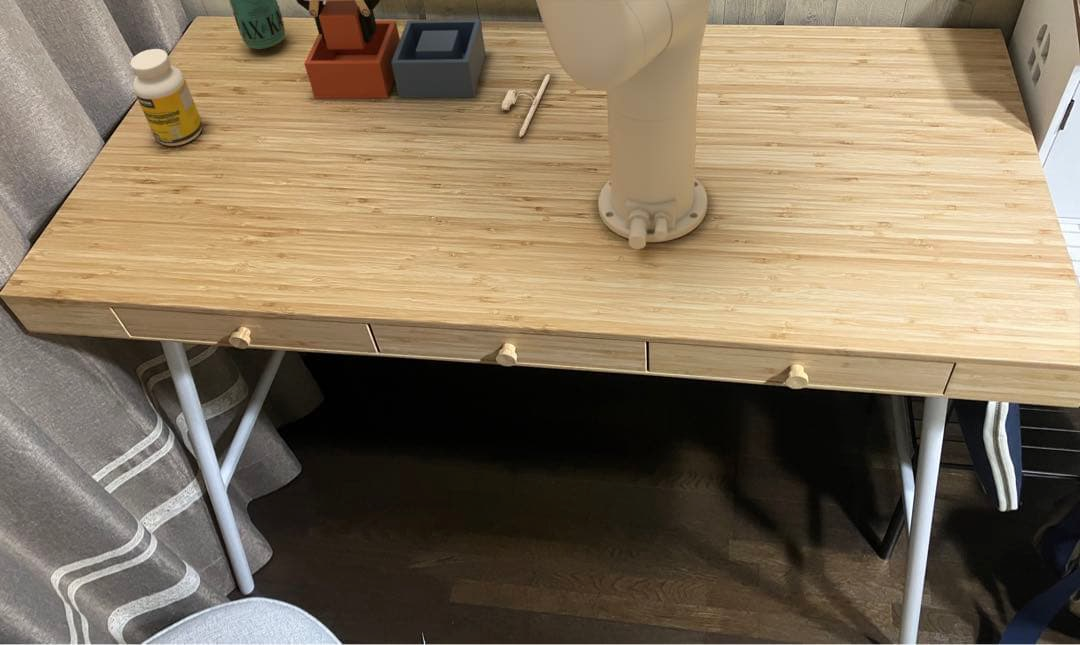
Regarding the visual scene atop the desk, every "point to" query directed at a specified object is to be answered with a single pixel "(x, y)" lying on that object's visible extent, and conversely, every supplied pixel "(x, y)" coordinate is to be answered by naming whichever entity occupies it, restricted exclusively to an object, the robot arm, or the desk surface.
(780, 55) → the desk surface
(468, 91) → the blue bin
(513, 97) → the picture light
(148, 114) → the pill bottle
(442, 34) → the gray block
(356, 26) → the terracotta block
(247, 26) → the beverage bottle
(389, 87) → the terracotta bin
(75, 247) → the desk surface
